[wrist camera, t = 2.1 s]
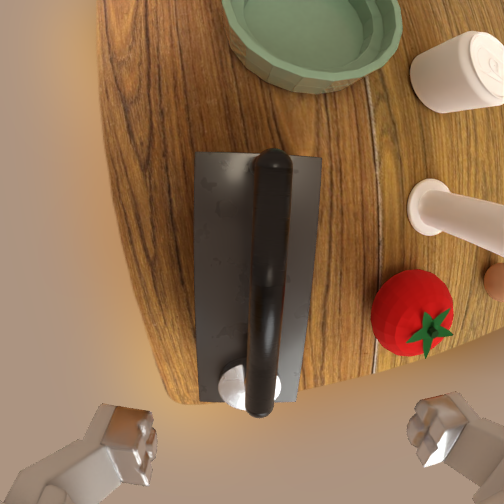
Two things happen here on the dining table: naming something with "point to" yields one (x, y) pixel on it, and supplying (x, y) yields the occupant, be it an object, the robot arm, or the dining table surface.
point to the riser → (247, 265)
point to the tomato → (412, 313)
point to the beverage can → (460, 73)
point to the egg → (495, 281)
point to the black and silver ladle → (263, 289)
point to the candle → (456, 215)
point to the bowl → (313, 40)
